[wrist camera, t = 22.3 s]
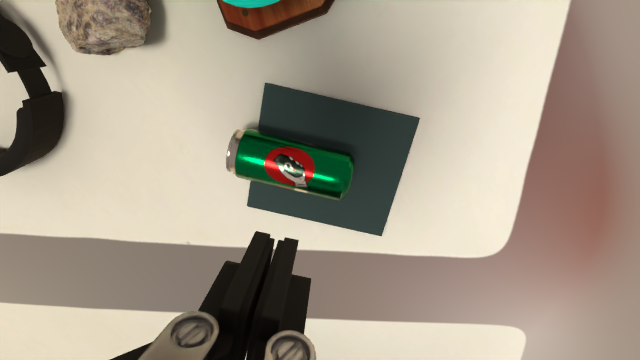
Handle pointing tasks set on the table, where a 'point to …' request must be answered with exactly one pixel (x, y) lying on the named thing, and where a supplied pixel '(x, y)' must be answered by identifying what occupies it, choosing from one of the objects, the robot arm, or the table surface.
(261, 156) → the soda can
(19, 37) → the headphones
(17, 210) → the table surface
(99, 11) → the rock
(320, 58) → the table surface
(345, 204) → the mat
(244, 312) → the robot arm
